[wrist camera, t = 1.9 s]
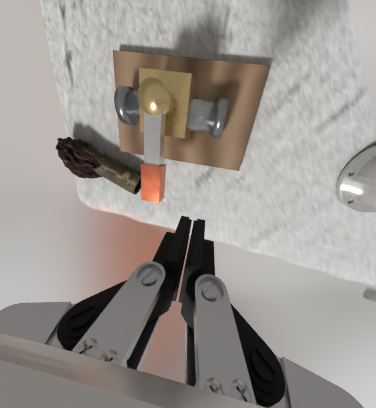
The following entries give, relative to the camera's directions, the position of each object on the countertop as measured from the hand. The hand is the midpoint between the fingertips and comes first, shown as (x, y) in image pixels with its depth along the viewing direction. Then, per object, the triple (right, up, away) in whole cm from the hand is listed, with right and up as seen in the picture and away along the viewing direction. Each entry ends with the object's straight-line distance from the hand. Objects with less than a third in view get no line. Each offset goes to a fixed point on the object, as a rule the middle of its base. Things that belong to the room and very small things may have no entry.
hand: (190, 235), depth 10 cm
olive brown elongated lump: (-18, +11, +22) cm, 31 cm away
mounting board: (-1, +18, +15) cm, 24 cm away
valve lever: (-4, +10, +9) cm, 14 cm away
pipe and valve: (-2, +18, +14) cm, 23 cm away
